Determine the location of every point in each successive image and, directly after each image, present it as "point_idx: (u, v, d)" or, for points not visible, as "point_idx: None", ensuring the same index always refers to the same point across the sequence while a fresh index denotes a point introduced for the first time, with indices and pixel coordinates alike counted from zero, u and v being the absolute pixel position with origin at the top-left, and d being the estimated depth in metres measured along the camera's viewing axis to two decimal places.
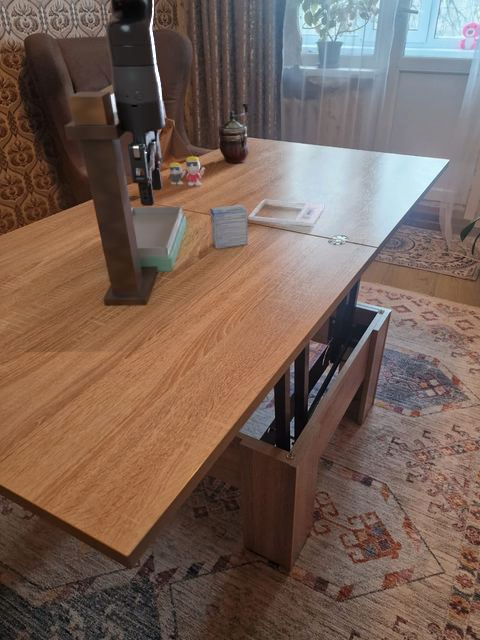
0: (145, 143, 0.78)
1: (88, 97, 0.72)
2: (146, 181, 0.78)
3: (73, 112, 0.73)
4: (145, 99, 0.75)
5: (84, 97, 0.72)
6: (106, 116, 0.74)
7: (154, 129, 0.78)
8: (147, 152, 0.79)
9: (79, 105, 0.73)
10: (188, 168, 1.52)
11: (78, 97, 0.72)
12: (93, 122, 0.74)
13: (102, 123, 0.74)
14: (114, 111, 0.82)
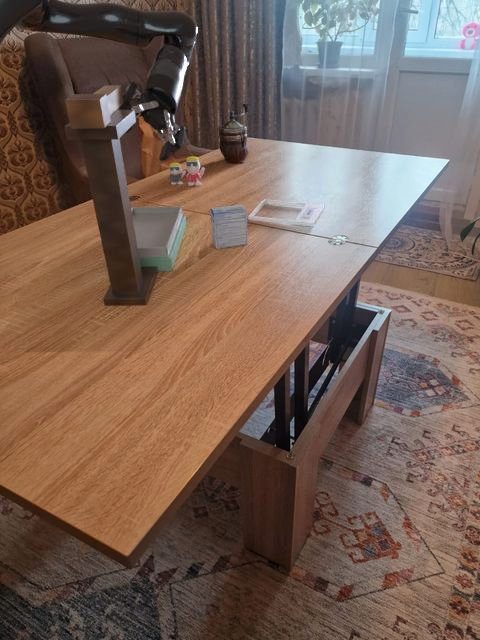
0: (144, 93, 0.96)
1: (85, 100, 0.70)
2: (124, 99, 0.92)
3: (69, 115, 0.71)
4: (155, 72, 0.98)
5: (81, 100, 0.70)
6: (104, 119, 0.72)
7: (155, 87, 0.96)
8: (144, 100, 0.96)
9: (76, 108, 0.71)
10: (188, 168, 1.52)
11: (75, 100, 0.70)
12: (90, 125, 0.72)
13: (99, 126, 0.72)
14: (109, 114, 0.80)
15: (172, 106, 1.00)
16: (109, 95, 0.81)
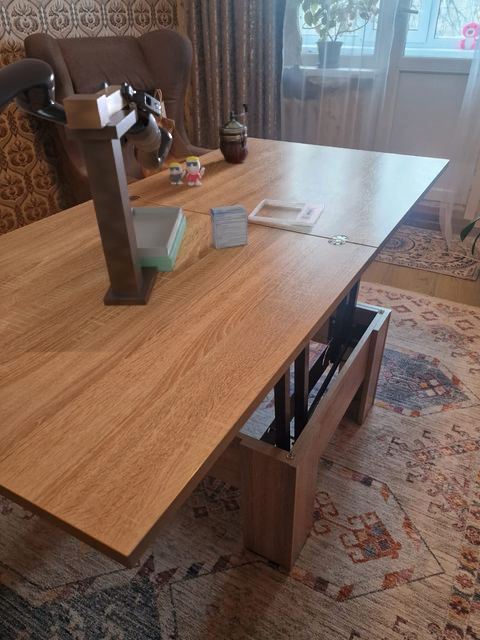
0: None
1: (82, 100, 0.70)
2: None
3: (67, 115, 0.71)
4: None
5: (78, 100, 0.70)
6: (101, 120, 0.72)
7: None
8: None
9: (73, 108, 0.71)
10: (188, 168, 1.52)
11: (72, 100, 0.70)
12: (88, 126, 0.72)
13: (96, 127, 0.72)
14: (110, 114, 0.80)
15: None
16: (111, 95, 0.80)
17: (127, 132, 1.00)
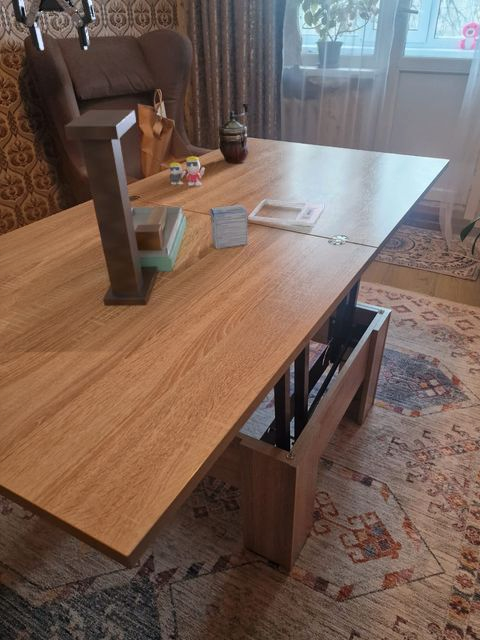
0: None
1: (148, 232, 0.99)
2: (16, 20, 0.90)
3: None
4: None
5: (145, 232, 0.99)
6: (160, 244, 1.01)
7: None
8: None
9: (141, 237, 0.99)
10: (188, 168, 1.52)
11: (141, 232, 0.99)
12: (151, 248, 1.01)
13: (157, 248, 1.01)
14: None
15: None
16: (160, 220, 1.09)
17: None
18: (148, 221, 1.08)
